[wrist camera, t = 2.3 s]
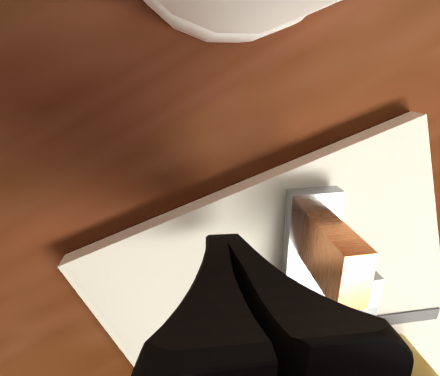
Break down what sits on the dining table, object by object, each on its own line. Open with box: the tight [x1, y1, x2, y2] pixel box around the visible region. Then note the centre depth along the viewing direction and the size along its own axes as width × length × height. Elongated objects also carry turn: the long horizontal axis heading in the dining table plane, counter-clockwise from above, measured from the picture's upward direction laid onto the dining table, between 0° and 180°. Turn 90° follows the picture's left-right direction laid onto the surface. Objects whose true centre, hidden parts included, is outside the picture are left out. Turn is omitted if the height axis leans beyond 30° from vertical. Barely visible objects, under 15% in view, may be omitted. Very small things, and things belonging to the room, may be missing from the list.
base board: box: [58, 111, 440, 376], centre depth 16 cm, size 19×18×5 cm
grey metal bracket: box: [281, 186, 385, 316], centre depth 14 cm, size 13×8×4 cm, turn 1°
